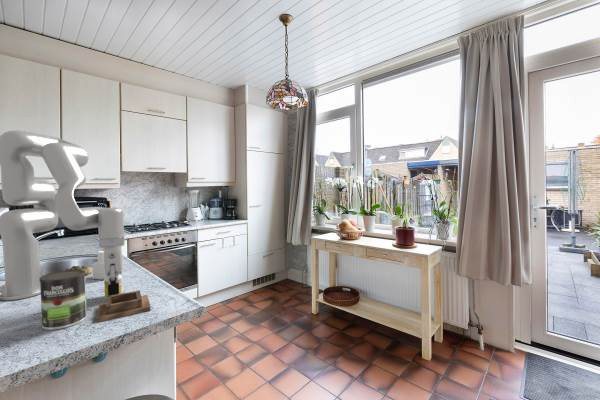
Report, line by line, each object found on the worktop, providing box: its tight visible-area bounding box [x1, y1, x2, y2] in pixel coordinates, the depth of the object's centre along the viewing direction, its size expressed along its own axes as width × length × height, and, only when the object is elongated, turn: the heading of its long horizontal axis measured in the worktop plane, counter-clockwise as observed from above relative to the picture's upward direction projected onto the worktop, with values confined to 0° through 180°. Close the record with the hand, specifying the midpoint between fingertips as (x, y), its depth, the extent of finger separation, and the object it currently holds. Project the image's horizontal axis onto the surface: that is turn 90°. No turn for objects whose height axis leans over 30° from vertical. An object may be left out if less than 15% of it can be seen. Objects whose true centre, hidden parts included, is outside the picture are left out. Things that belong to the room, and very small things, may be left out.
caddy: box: [96, 290, 152, 323], centre depth 91 cm, size 14×12×4 cm
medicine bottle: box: [91, 249, 121, 281], centre depth 123 cm, size 7×7×12 cm
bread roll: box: [64, 265, 93, 276], centre depth 127 cm, size 11×11×5 cm
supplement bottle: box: [103, 271, 124, 300], centre depth 100 cm, size 5×5×10 cm
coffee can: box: [39, 269, 88, 331], centre depth 82 cm, size 10×10×14 cm
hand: (113, 291), depth 101 cm, fingers closed on supplement bottle, 5 cm apart
